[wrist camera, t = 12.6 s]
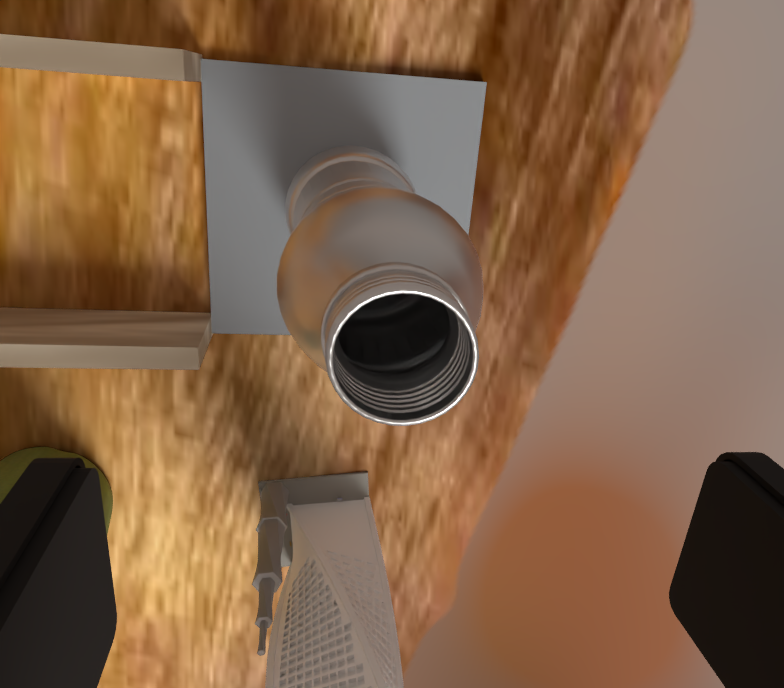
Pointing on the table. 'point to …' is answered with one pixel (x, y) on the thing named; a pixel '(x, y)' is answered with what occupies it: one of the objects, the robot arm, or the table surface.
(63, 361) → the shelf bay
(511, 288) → the table surface
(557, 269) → the table surface
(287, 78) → the tile
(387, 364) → the plastic bottle
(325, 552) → the skyscraper
